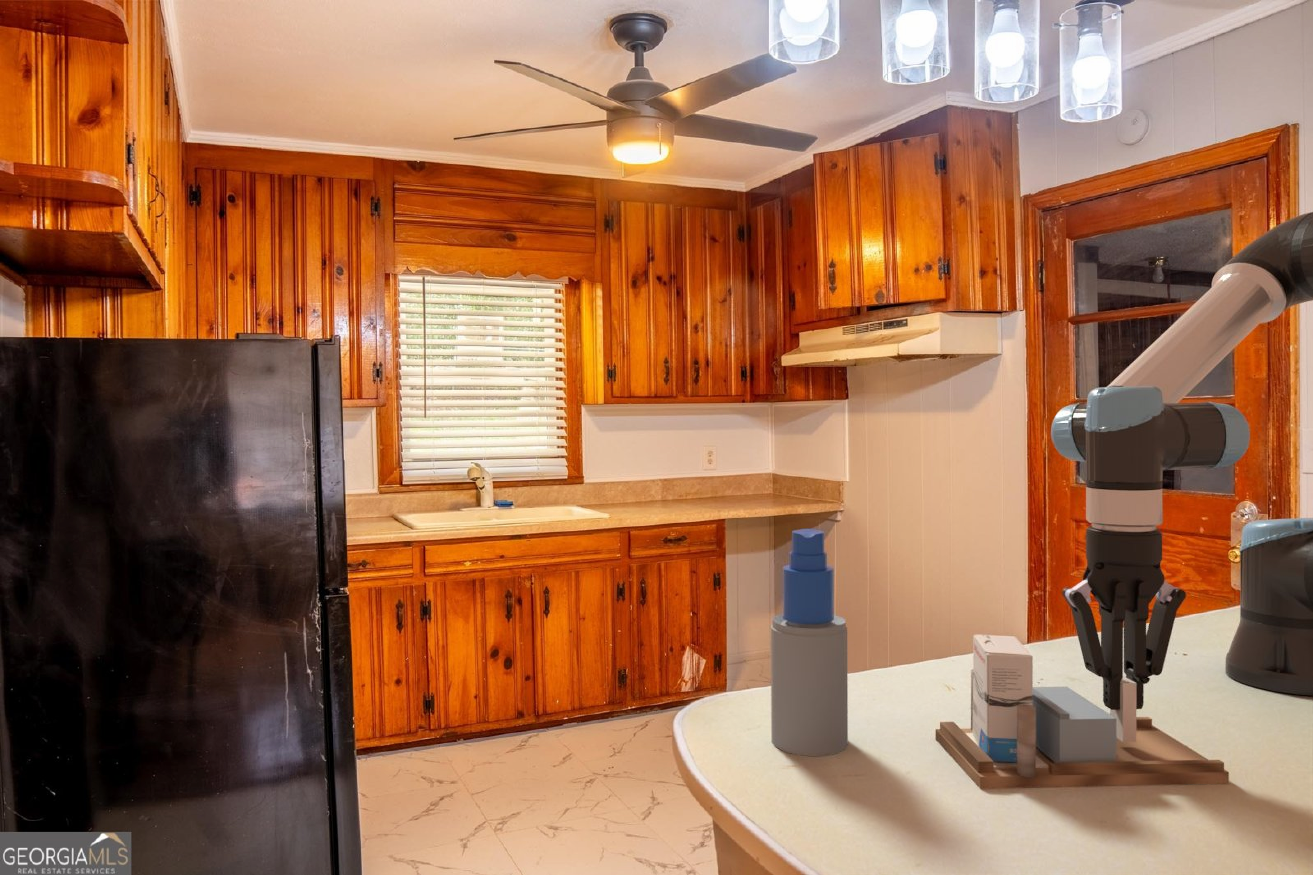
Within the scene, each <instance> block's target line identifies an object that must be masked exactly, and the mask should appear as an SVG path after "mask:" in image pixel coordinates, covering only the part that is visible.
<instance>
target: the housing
mask: <svg viewBox="0 0 1313 875" xmlns="http://www.w3.org/2000/svg"><path fill="white" fill-rule="evenodd" d="M1032 697H1033V706H1034V707H1035V708H1036V747H1037V748H1038V749H1039V750H1041V751H1042V752H1043V753H1044V754H1045V755H1046V756H1048V757H1049V758H1050V759H1051V760H1052V761H1054V762H1055V763H1073V762H1116V718H1115V717H1113V716H1112V715H1110V713H1109V712H1107V711H1106V710H1104V709H1102V708H1101V707H1099V706H1098V705H1097V704H1095V703H1093V702H1092V701H1090V700H1088V699H1087V698H1086V697H1084V696H1082V695H1081V694H1079V693H1078V692H1076V691H1075V690H1073V689H1071V688H1070V687H1068V686H1033V696H1032Z"/></svg>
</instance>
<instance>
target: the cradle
mask: <svg viewBox="0 0 1313 875" xmlns="http://www.w3.org/2000/svg"><path fill="white" fill-rule="evenodd" d="M935 740H936V742H937V743H938V744H940V746H941V747H942V748H943V749H944V750H945V751H946V753H948V755H949V756H950V757H951V758H952V759H953V760H954V762H955V763H956V764H957V765H958V766H960V768H961V769H962V770H963V771H964V772H965V773H966V775H968V777H969V778H970V779H971V780H972V781H973V782H974V783H975V785H977V787H978V788H979V789H1016V788H1017V789H1018V788H1019V789H1021V788H1026V789H1027V788H1061V787H1062V788H1065V787H1067V788H1069V787H1070V788H1071V787H1073V788H1075V787H1078V788H1079V787H1111V786H1112V787H1117V786H1120V787H1121V786H1125V787H1126V786H1170V785H1172V786H1173V785H1175V786H1176V785H1217V784H1218V785H1219V784H1221V785H1222V784H1224V785H1225V784H1226V785H1227V784H1230V783H1229V782H1230V780H1229V778H1230V777H1229V776H1230V774H1229V773H1230V772H1229V771H1228V770H1227V769H1225V762H1224V761H1222V760H1221V759H1208V758H1206V757H1205V756H1204V755H1202V754H1201V753H1199V752H1197V751H1195V750H1193V749H1192V748H1190V747H1189V746H1187V745H1186V744H1184V743H1183V742H1180V741H1179V740H1177V739H1176V738H1174V737H1173V736H1170V735H1169V734H1167V733H1166V732H1164V731H1163V730H1161V729H1160V728H1158V727H1156V726H1154V725H1153V719H1152V718H1151V717H1149V716H1136V742H1122V741H1121V740H1119V739H1118V738H1117V737H1116V762H1073V763H1055V762H1054V761H1052V760H1051V759H1050V758H1049V757H1048V756H1046V755H1045V754H1044V753H1043V752H1042V751H1041V750H1039V749H1038V748H1037V747H1036V708H1035V707H1034V706H1031V705H1025V704H1022V705H1018V706H1017V762H998V761H993V760H992V759H991V758H990V757H989V756H988V755H987V754H986V753H985V752H984V751H983V750H982V749H981V748H980V747H979V745H978V743H977V741H976V740H975V738H974V736H973V668H972V669H971V670H970V728H961V727H960V726H958V725H957V723H956V722H954V721H940V722H939V728H936V729H935Z"/></svg>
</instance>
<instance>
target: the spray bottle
mask: <svg viewBox="0 0 1313 875" xmlns="http://www.w3.org/2000/svg"><path fill="white" fill-rule="evenodd" d="M827 554H828V553H827V552H826V551H825V531H823V530H819V529H815V528H801V529H796V530H792V532H791V551H789V564H787V565H784V566H783V567H782V613H780V614H776V615H775V616H773V617H772V624H771V625H770V662H771V663H770V678H771V679H770V681H771V682H770V691H771V692H770V696H771V698H770V702H771V703H770V706H771V707H770V708H771V710H770V711H771V712H770V713H771V714H770V716H771V720H770V721H771V743H772V744H773V746H774V747H776V748H777V749H779V750H780V751H783V752H785V753H790V754H793V755H798V756H799V755H800V756H806V757H807V756H809V757H823V756H830V755H835V754H839V753H841V752H843V751H845V750H846V749H847V747H849V745H848V744H849V743H848V738H849V737H848V735H849V734H848V731H849V730H848V729H849V728H848V726H849V725H848V724H849V723H848V722H849V721H848V720H849V719H848V718H849V717H848V716H849V715H848V714H849V713H848V712H849V711H848V710H849V709H848V706H849V705H848V703H849V702H848V701H849V700H848V693H849V692H848V685H849V684H848V627H847V626H846V619H845V618H843V617H842V616H839V615H836V614H835V610H834V609H835V600H834V599H835V598H834V597H835V591H834V590H835V583H834V582H835V572H834V571H835V569H834V567H833V566H831V565H830V566H829V565H828V555H827Z"/></svg>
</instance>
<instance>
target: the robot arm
mask: <svg viewBox="0 0 1313 875" xmlns="http://www.w3.org/2000/svg"><path fill="white" fill-rule="evenodd" d="M1312 301H1313V211H1312V212H1307V213H1304V214H1299V215H1297V216H1295V217H1292V218H1290V219H1288V220H1286V221H1284V222H1282V223H1279V224H1278V225H1275V227H1273V228H1271V229H1269V230H1267V231H1266V232H1265V233H1263V234H1261V235H1260V236H1259V237H1258V238H1256V239H1254V240H1253V241H1251V242H1250V243H1249V244H1248V245H1246V246H1245V247H1244V248H1243V249H1241V250H1240V251H1239V252H1238V253H1236V254H1235V255H1234V256H1232V257H1231V259H1229V260H1228V261H1227V262H1226V263H1224V265H1222V267H1221V268H1220V269H1218V271H1217V272H1215V274H1214V276H1213V278H1212V281H1211V288H1210V289H1209V290H1207V291H1206V292H1205V293H1204V294H1203V295H1202V296H1201V297H1200V298H1199V299H1198V300H1197V301H1196V302H1195V303H1194V304H1193V305H1192V306H1190V307H1189V308H1188V309H1187V310H1186V311H1185V312H1184V313H1183V314H1182V315H1181V316H1180V317H1179V318H1178V319H1177V320H1175V322H1173V323H1172V324H1171V325H1170V327H1169V328H1167V330H1165V331H1164V332H1163V333H1162V334H1160V336H1159V337H1158V338H1157V339H1156V340H1155V341H1154V342H1153V343H1152V344H1150V345H1149V346H1148V347H1147V348H1146V349H1145V350H1144V351H1142V352H1141V354H1140V355H1139V356H1138V357H1137V358H1136V359H1134V361H1132V363H1130V364H1129V366H1127V367H1126V368H1125V369H1124V370H1123V371H1122V372H1121V373H1120V374H1119V375H1118V376H1117V377H1116V378H1115V379H1113V381H1111V382H1110V384H1108V385H1107V386H1105V387H1103V386H1102V387H1096V388H1093V389H1092V390H1091V391H1090V392H1089V393H1088V394H1087V399H1086V403H1085V402H1078V403H1076V404H1069V405H1067V406H1063V407H1062V408H1061V409H1060V410H1059V411H1058V412H1057V413H1056V415H1055V416H1054V419H1053V420H1052V422H1051V428H1050V430H1051V431H1050V435H1051V441H1052V443H1053V446H1054V448H1055V449H1056V451H1057V452H1058V453H1059V454H1060V456H1062V457H1064V458H1065V459H1068V460H1071V461H1075V462H1080V463H1081V462H1082V463H1085V464H1086V465H1085V467H1086V468H1085V470H1086V476H1085V477H1086V480H1085V481H1086V483H1085V484H1086V487H1085V520H1086V521H1087V522H1088V523H1090V524H1091V525H1089V526H1088V527H1087V529H1086V530H1085V559H1086V567H1085V570H1084V572H1083V575H1082V581H1081V582H1079V583H1077V584H1076V585H1074V586H1073V587H1064V588H1063V589H1062V591H1061V595H1062V597H1063V598H1064V600H1065V602H1066V603H1067V604H1068V606H1069V607H1070V610H1071V612H1072V613H1071V614H1072V618H1073V621H1074V625H1075V626H1074V627H1075V629H1076V633H1077V634H1076V635H1077V639H1078V642H1079V647H1080V649H1081V654H1082V660H1083V662H1084V666H1085V668H1086V670H1087V671H1089V672H1091V674H1094V675H1096V676H1098V678H1099V677H1101V678H1102V684H1103V685H1102V692H1103V694H1102V697H1103V698H1102V702H1103V704H1104V706H1105V707H1107V708H1108V709H1110V710H1109V711H1110V713H1109V714H1110V715H1112V716H1113V717H1115V718H1116V737H1117V738H1118V739H1119V740H1121V741H1122V742H1136V717H1137V710H1142V709H1143V707H1144V703H1145V701H1144V695H1145V694H1144V693H1145V692H1144V689H1145V686H1144V685H1145V684H1148V683H1149V682H1150V680H1151V676H1160V675H1161V674H1163V673H1162V672H1163V669H1164V664H1165V661H1166V656H1167V652H1168V648H1169V644H1170V640H1171V636H1172V633H1173V632H1172V631H1173V629H1174V624H1175V619H1176V616H1177V612H1178V610H1179V608H1180V607H1181V606H1182V603H1184V600H1186V598H1187V592H1186V591H1185V590H1184V589H1181V588H1178V587H1176V586H1173V585H1172V584H1170V583H1169V582H1167V581H1165V579H1166V578H1165V577H1166V576H1165V575H1164V574H1165V573H1164V572H1163V571H1162V568H1161V563H1162V561H1163V532H1161V530H1160V529H1159V528H1157V526H1160V525H1162V524H1163V522H1164V521H1163V519H1164V518H1163V516H1164V515H1163V475H1164V474H1163V471H1168V470H1171V471H1173V470H1174V471H1175V470H1196V469H1197V470H1198V469H1200V470H1204V469H1205V470H1209V471H1210V470H1214V469H1216V468H1223V467H1224V468H1225V467H1227V466H1231V465H1233V464H1235V463H1237V462H1238V461H1239V460H1240V459H1241V458H1242V457H1243V456H1244V455H1245V454H1246V452H1247V451H1248V448H1249V445H1250V443H1251V442H1250V440H1251V439H1250V438H1251V434H1250V432H1251V431H1250V424H1249V423H1248V420H1247V418H1246V417H1245V416H1244V414H1243V413H1242V412H1241V411H1240V410H1239V409H1238V408H1236V407H1234V406H1232V405H1230V404H1228V403H1227V404H1226V403H1219V402H1218V403H1217V402H1214V401H1213V402H1212V401H1202V402H1201V401H1200V402H1181V401H1182V400H1183V399H1184V398H1185V397H1186V396H1187V395H1188V394H1189V393H1190V392H1191V391H1192V390H1193V389H1194V388H1195V387H1196V386H1197V385H1198V384H1199V383H1200V382H1201V381H1203V379H1204V378H1205V377H1206V376H1207V375H1208V374H1209V373H1210V372H1211V371H1212V370H1214V368H1215V367H1217V365H1218V364H1219V363H1221V361H1222V360H1224V358H1226V356H1228V355H1229V354H1230V353H1231V352H1232V351H1233V350H1234V349H1235V348H1236V347H1237V346H1238V345H1239V344H1240V343H1241V342H1242V341H1243V340H1244V339H1245V338H1247V336H1248V335H1249V334H1250V333H1252V332H1253V331H1254V330H1255V329H1256V328H1257V327H1258V326H1259V324H1264V323H1265V324H1266V323H1269V322H1271V321H1274V320H1275V319H1277V318H1279V316H1280V315H1282V313H1283V312H1284V311H1286V310H1287V309H1289V308H1291V307H1293V306H1296V305H1299V304H1303V303H1307V302H1312ZM1180 402H1181V403H1180ZM1239 554H1240V555H1239V557H1240V558H1239V559H1240V560H1239V566H1240V567H1239V568H1240V571H1239V572H1240V574H1239V576H1240V577H1239V578H1240V579H1239V580H1240V581H1239V582H1240V583H1239V584H1240V587H1239V589H1240V590H1239V592H1240V593H1239V595H1240V596H1239V597H1240V608H1239V609H1240V610H1239V611H1240V612H1239V615H1240V617H1239V618H1240V619H1239V623H1238V626H1237V628H1236V631H1235V633H1234V636H1233V639H1232V641H1231V644H1230V646H1229V649H1228V652H1227V653H1226V656H1225V668H1224V669H1225V673H1226V675H1227V676H1229V678H1231V679H1233V680H1235V681H1237V682H1240V683H1243V684H1245V685H1248V686H1252V687H1254V688H1255V687H1256V688H1260V689H1263V690H1264V689H1265V690H1269V691H1272V692H1279V693H1284V694H1285V693H1286V694H1293V695H1300V696H1301V695H1302V696H1312V697H1313V517H1301V518H1299V517H1297V518H1296V517H1295V518H1277V519H1276V518H1275V519H1273V518H1271V519H1260V520H1253V521H1250V522H1247V523H1246V524H1245V525H1244V526H1243V527H1242V530H1241V541H1240V547H1239ZM1090 594H1091V595H1092V596H1093V597H1094V599H1095V600H1096V602H1097V603H1098V613H1099V615H1100V636H1099V634H1098V629H1097V626H1096V621H1095V617H1094V612H1093V610H1092V608H1091V606H1090V603H1091V602H1092V600H1091V599H1092V598H1091V595H1090ZM1154 598H1156V599H1155V602H1154V603H1153V605H1152V611H1151V614H1150V619H1149V613H1150V612H1149V609H1150V608H1149V606H1150V604H1151V603H1152V601H1153V599H1154ZM1148 620H1149V623H1148V628H1147V621H1148ZM1124 674H1125V675H1124Z"/></svg>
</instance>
